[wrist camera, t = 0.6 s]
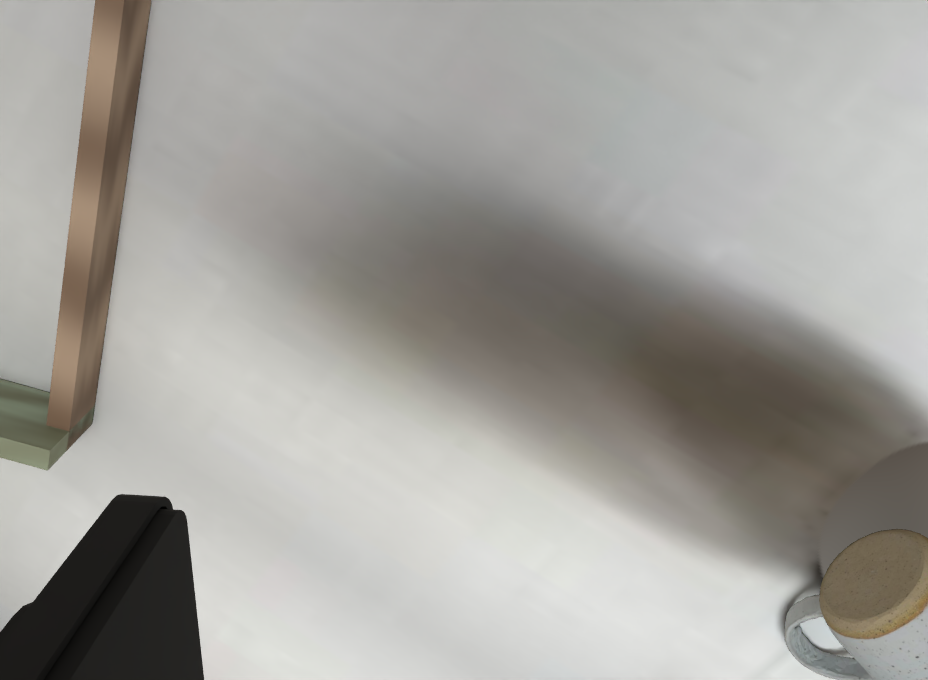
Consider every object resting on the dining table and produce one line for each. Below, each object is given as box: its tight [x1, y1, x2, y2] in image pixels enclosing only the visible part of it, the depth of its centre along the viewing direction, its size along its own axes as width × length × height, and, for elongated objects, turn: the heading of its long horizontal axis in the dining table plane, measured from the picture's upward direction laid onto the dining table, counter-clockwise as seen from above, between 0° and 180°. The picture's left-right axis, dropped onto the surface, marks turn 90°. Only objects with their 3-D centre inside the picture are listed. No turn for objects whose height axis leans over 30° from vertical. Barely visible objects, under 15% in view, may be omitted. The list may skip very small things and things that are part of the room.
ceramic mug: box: [784, 529, 928, 680], centre depth 47 cm, size 11×8×8 cm
